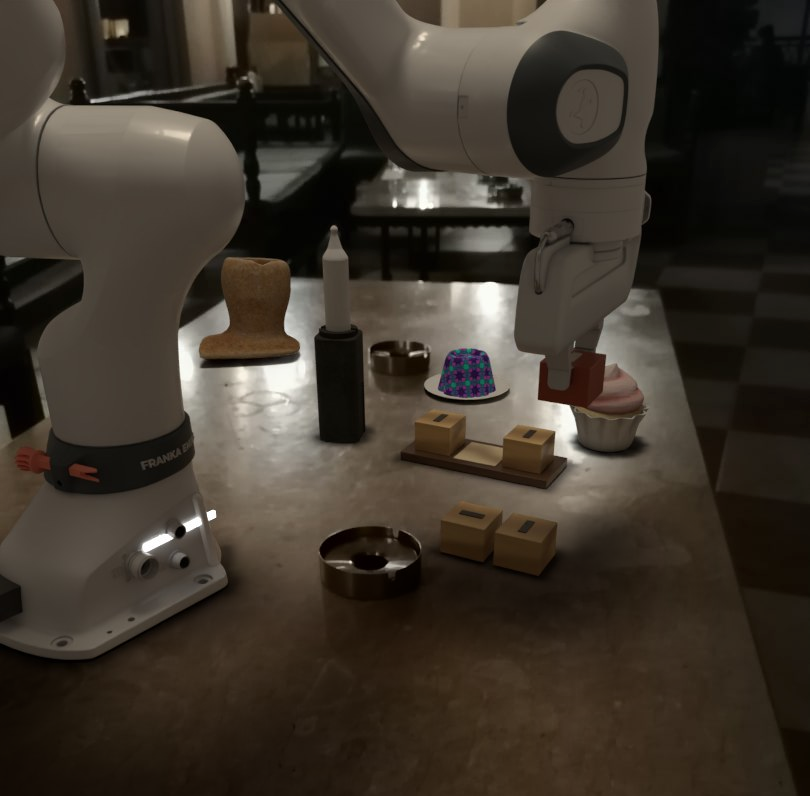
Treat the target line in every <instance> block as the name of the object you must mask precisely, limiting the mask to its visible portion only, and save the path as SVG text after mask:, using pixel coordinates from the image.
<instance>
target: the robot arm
mask: <svg viewBox="0 0 810 796" xmlns="http://www.w3.org/2000/svg"><path fill="white" fill-rule="evenodd" d="M272 1H273V2H274V3H275V5H276V6H277V7H278V8H279V9H280V10H281V12H282V13H283V14H284V15H285V17H286V18H287V19H288V20H289V21H290V22H291V24H293V26H294V27H295V28H296V29H297V30H298V31H299V33H300V35H302V36H303V37H304V39H305V40H306V41H307V42H308V43H309V44H310V45H311V47H312V48H313V50H315V51H316V53H317V54H318V55H319V56H320V57H321V58H322V59H323V61H324V62H325V63H326V64H327V65H328V66H329V68H330V69H331V70H332V71H333V72H334V73H335V75H337V77H338V78H339V79H340V81H341V82H342V83H343V84H344V86H346V88H347V90H348V91H349V92H350V94H351V96H352V97H353V99H354V100H355V102H356V104H357V105H358V108H359V111H360V112H361V115H362V116H363V118H364V121H365V123H366V125H367V127H368V129H369V131H370V133H371V135H372V137H373V139H374V141H375V143H376V145H377V146H378V147H379V149H380V151H381V152H382V154H384V156H385V157H387V159H388V160H389V161H390V162H391V163H393V164H394V165H395V166H397V167H399V168H400V169H403V170H405V171H409V172H412V173H413V172H414V173H444V172H445V173H446V172H453V173H460V174H470V175H476V176H477V175H478V176H485V177H486V176H487V177H501V178H510V179H519V180H520V179H521V180H531V190H530V192H531V193H530V205H529V224H528V231H529V233H530V234H531V235H532V236H534V237H536V238H539V239H540V240H539V243H538V246H537V247H535V248H533V249H531V250H530V251H529V252H527V254H526V255H525V257H524V260H523V263H522V266H521V270H520V276H519V282H518V290H517V298H516V307H515V316H514V317H515V318H514V327H513V339H514V343H515V346H516V349H517V350H518V351H519V352H522V353H526V354H527V353H528V354H532V355H540V356H544V358H546V362H547V366H548V368H549V369H548V386H549V387H550V388H551V389H555V390H561V391H564V390H566V389H567V388H568V387H569V386H570V385H571V384H572V383H573V374H574V366H572V365H571V352H572V351H573V350H578V351H585V352H592V353H597V348H598V344H599V341H600V339H601V335H602V332H603V329H604V328H603V327H604V322H605V318H606V317H608V316H609V315H610V314H612V313H613V312H614V311H615V310H617V309H618V308H620V307H621V306H622V305H623V304H624V303H626V302H627V300H628V298H629V295H630V292H631V290H632V287H633V284H634V279H635V273H636V268H637V263H638V257H639V252H640V246H641V241H642V229H643V228H642V225H644V224H646V223H647V222H648V220H649V219H650V215H651V209H652V197H651V195H650V194H649V193H648V192H647V191H646V182H647V181H646V179H647V173H648V166H647V165H648V164H647V158H646V152H645V151H646V150H645V148H646V147H645V144H646V143H645V142H646V135H647V131H648V128H649V125H650V122H651V119H652V117H653V114H654V110H655V109H654V108H655V100H656V93H657V92H656V91H657V82H658V81H657V79H658V68H659V67H658V66H659V49H660V48H659V47H660V46H659V45H660V42H659V41H660V40H659V39H660V36H659V35H660V31H659V28H660V27H659V11H658V10H659V9H658V2H657V0H545V1H544V2H543V4H541V5H540V6H539V7H537V8H536V9H535V10H534V11H533V12H531V13H530V14H528V15H527V16H525V17H523V18H521V19H519V20H516V21H515V25H504V26H503V25H501V26H486V27H485V26H483V27H481V26H480V27H478V26H477V27H476V26H475V27H449V26H442V25H438V24H437V25H436V24H432V23H428V22H425V21H421V20H418V19H416V18H414V17H412V16H410V15H409V14H408V13H406V12H405V11H404V10H403V8H402V7H401V5H400V4H399V3H398V1H397V0H272ZM66 55H67V44H66V34H65V27H64V22H63V18H62V16H61V12H60V10H59V8H58V6H57V5H56V3H55V1H54V0H0V256H2V257H7V258H19V259H20V258H23V259H47V260H48V259H50V260H70V261H71V260H75V261H80V263H81V266H82V271H83V272H82V273H83V291H82V296H81V300H80V301H78V302H77V303H74V304H73V305H71V306H70V307H68V308H66V309H65V310H63V311H61V312H60V313H59V314H58V315H56V316H55V317H54V318H52V319H51V320H50V321H49V323H48V324H47V325H46V327H45V328H44V329H43V332H42V334H41V335H40V338H39V341H38V345H37V348H36V349H37V351H36V357H37V361H38V366H39V371H40V376H41V381H42V385H43V386H42V387H43V390H44V395H45V400H46V404H47V409H48V414H49V418H50V423H51V426H50V429H49V431H48V436H47V442H46V451H44V450H42V449H36V448H35V449H34V448H33V447H30V446H22V447H20V448H19V449H17V451H16V455H15V456H14V460H15V461H14V463H15V465H16V467H17V469H19V470H20V471H24V472H31V473H33V474H36V475H40V474H42V473H43V478H44V481H43V482H42V484H41V485H40V487H39V488H38V490H37V491H36V492H35V494H34V496H33V497H32V499H31V500H30V501H29V503H28V504H27V506H26V508H25V509H24V510H23V512H22V514H21V515H20V516H19V518H18V519H17V521H16V522H15V524H14V525H13V526H12V528H11V529H10V531H8V533H7V535H5V538H4V539H3V540H2V541H1V543H0V644H1V645H3V646H6V647H8V648H10V649H13V650H17V651H19V652H23V653H26V654H29V655H32V656H37V657H41V658H46V659H47V658H48V659H54V660H66V661H67V660H68V661H69V660H70V661H77V660H78V661H80V660H90V659H94V658H96V657H99V656H100V655H103V654H104V653H106V652H108V651H110V650H112V649H114V648H116V647H117V646H119V645H121V644H123V643H125V642H126V641H128V640H130V639H132V638H134V637H136V636H137V635H139V634H141V633H143V632H145V631H147V630H149V629H151V628H152V627H154V626H156V625H158V624H159V623H161V622H163V621H165V620H167V619H169V618H171V617H173V616H174V615H176V614H178V613H180V612H182V611H183V610H185V609H188V608H189V607H191V606H193V605H195V604H196V603H198V602H200V601H202V600H204V599H206V598H207V597H209V596H211V595H213V594H215V593H217V592H219V591H220V590H223V589H224V588H225V587H226V586H227V585H228V583H229V579H228V576H227V572H226V569H225V568H224V566H223V564H222V563H221V562H222V550H221V547H220V545H219V543H218V541H217V539H216V537H215V535H214V532H213V529H212V527H211V523H210V521H212V520H213V519H215V518H217V513H216V510H214V509H212V510H210V511H207V507H206V504H205V501H204V496H203V493H202V490H201V488H200V485H199V481H198V479H197V475H196V472H195V467H194V463H193V460H194V458H195V456H196V450H195V449H196V448H195V433H194V432H193V428H192V422H191V417H190V415H189V413H188V412H187V411H186V410H185V406H184V399H183V389H182V379H181V370H180V369H181V368H180V367H181V366H180V352H179V349H180V348H179V330H180V329H179V328H180V322H181V315H182V312H183V307H184V304H185V301H186V299H187V296H188V294H189V291H190V289H191V287H192V285H193V283H194V282H195V279H196V278H197V277H198V275H199V274H200V273H201V272H202V270H203V268H204V267H205V266H207V264H208V263H209V262H211V260H212V259H213V258H214V257H216V256H217V255H218V254H219V253H221V252H222V251H223V250H224V249H225V248H226V246H228V244H229V243H230V242H231V241H232V239H233V237H234V236H235V234H236V232H237V231H238V228H239V226H240V224H241V221H242V219H243V215H244V212H245V211H244V210H245V205H246V181H245V175H244V174H245V173H244V170H243V166H242V163H241V160H240V158H239V156H238V153H237V151H236V149H235V147H234V146H233V144H232V142H231V141H230V139H229V138H228V136H227V135H226V133H225V132H224V131H223V130H222V129H221V128H220V126H219V125H218V124H217V123H216V122H215V121H213V120H210V119H208V118H205V117H201V116H197V115H193V114H189V113H185V112H181V111H176V110H173V109H167V108H163V107H158V106H153V105H74V104H68V103H67V104H66V103H61V102H59V101H56V100H54V99H52V98H51V95H52V94H53V92H54V91H55V89H56V88H57V86H58V84H59V82H60V80H61V79H62V78H61V77H62V75H63V72H64V69H65V64H66V57H67V56H66Z"/></svg>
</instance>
